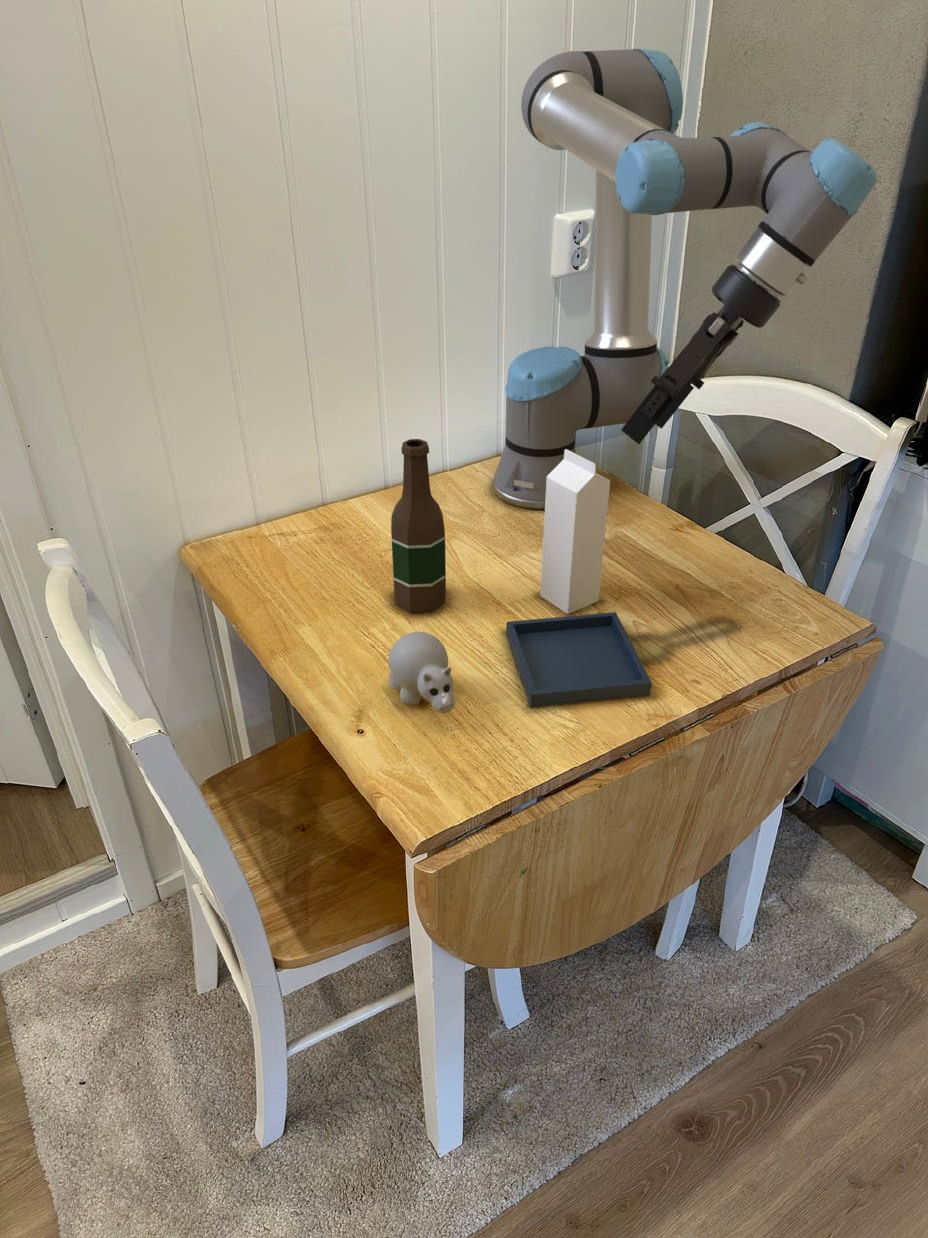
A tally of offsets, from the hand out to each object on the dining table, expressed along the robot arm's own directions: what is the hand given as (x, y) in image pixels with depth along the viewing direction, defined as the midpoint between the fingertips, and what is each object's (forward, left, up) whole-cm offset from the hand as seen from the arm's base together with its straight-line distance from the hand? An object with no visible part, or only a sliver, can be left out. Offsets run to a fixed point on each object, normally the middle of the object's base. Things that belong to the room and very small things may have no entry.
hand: (642, 429), depth 119 cm
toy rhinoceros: (+17, -30, -27) cm, 43 cm away
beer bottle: (-6, -28, -27) cm, 39 cm away
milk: (-3, -7, -27) cm, 28 cm away
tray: (+12, -10, -27) cm, 31 cm away
